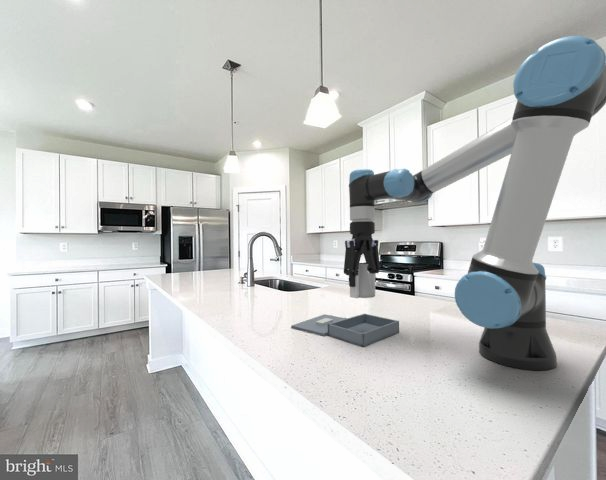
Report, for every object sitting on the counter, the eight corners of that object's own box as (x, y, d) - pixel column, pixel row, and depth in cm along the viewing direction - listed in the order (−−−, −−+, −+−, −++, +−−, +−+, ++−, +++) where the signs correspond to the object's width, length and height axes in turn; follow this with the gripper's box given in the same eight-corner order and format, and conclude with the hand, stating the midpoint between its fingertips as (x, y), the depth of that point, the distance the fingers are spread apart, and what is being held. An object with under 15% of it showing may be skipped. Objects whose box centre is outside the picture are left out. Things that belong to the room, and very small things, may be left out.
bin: (399, 332, 91) (399, 321, 91) (363, 347, 79) (362, 334, 79) (364, 323, 101) (364, 313, 101) (327, 335, 89) (327, 324, 89)
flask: (373, 294, 94) (373, 263, 94) (377, 299, 86) (376, 264, 86) (350, 294, 94) (350, 263, 94) (352, 298, 87) (351, 265, 87)
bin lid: (355, 322, 103) (355, 317, 103) (324, 336, 89) (324, 331, 89) (324, 316, 112) (324, 312, 112) (291, 328, 98) (291, 323, 98)
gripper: (371, 222, 100) (372, 289, 100) (330, 221, 86) (331, 298, 87) (391, 221, 94) (392, 292, 94) (349, 219, 81) (351, 302, 81)
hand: (362, 295), depth 91 cm, fingers closed on flask, 8 cm apart
